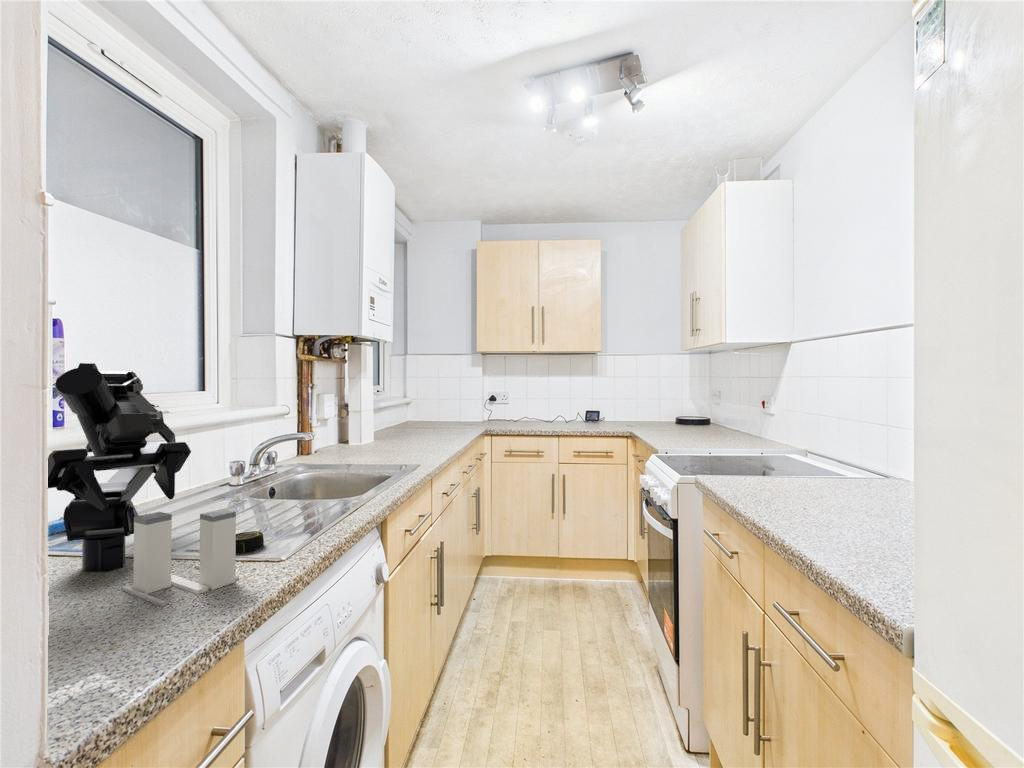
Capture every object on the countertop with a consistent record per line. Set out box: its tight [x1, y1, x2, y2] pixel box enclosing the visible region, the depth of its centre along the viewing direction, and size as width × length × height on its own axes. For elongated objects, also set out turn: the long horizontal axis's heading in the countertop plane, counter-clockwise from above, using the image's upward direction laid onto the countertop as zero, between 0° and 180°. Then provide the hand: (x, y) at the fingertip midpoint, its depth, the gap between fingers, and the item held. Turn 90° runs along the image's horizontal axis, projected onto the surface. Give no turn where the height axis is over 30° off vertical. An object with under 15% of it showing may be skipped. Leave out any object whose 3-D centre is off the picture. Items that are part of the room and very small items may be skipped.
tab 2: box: [199, 508, 237, 591], centre depth 77 cm, size 4×4×11 cm
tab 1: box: [133, 511, 173, 595], centre depth 75 cm, size 4×4×11 cm
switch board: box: [121, 564, 240, 607], centre depth 77 cm, size 14×11×2 cm
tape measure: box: [236, 530, 265, 555], centre depth 94 cm, size 7×7×4 cm
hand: (140, 502), depth 77 cm, fingers open, 9 cm apart
